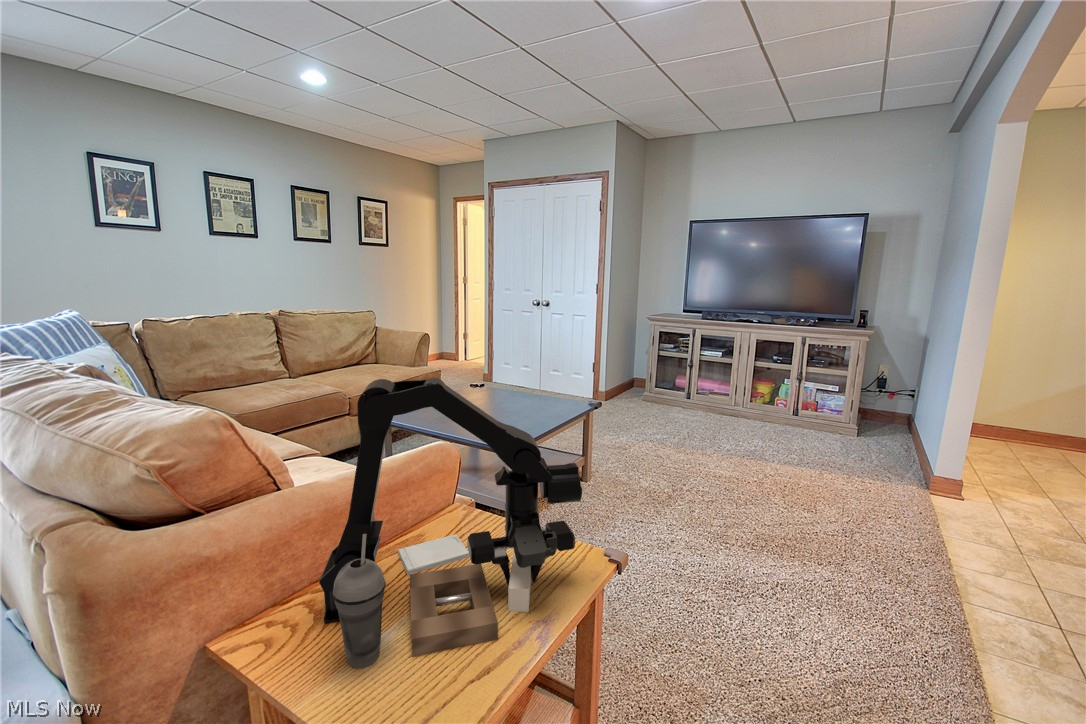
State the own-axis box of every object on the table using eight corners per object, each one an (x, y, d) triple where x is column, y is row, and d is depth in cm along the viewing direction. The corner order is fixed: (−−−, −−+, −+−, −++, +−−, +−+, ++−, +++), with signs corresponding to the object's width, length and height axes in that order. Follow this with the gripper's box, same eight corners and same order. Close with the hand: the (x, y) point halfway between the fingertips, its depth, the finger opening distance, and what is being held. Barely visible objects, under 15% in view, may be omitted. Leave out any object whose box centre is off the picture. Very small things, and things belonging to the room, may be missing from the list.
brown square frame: (412, 656, 72) (411, 639, 71) (410, 589, 87) (409, 574, 86) (497, 639, 76) (497, 622, 75) (481, 577, 91) (481, 563, 90)
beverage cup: (350, 637, 75) (342, 520, 72) (395, 639, 75) (390, 522, 72) (328, 675, 68) (318, 547, 65) (378, 677, 68) (371, 549, 64)
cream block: (508, 612, 82) (508, 588, 81) (513, 569, 94) (514, 548, 93) (528, 612, 82) (529, 589, 81) (531, 569, 94) (532, 548, 93)
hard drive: (455, 533, 104) (397, 548, 98) (469, 552, 97) (407, 569, 91) (456, 540, 104) (397, 555, 98) (469, 559, 97) (407, 577, 91)
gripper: (476, 535, 74) (477, 624, 77) (587, 519, 80) (584, 603, 83) (466, 502, 85) (467, 581, 88) (565, 490, 90) (563, 565, 93)
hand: (521, 583), depth 88 cm, fingers closed on cream block, 4 cm apart
